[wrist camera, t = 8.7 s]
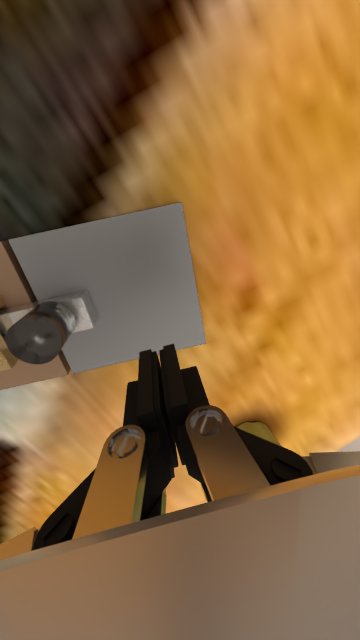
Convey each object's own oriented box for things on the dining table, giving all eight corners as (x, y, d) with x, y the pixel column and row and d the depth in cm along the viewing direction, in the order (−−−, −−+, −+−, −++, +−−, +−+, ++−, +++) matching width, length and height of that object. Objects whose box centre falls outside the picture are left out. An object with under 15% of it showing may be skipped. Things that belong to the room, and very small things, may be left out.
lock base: (203, 336, 27) (206, 343, 26) (-56, 395, 27) (-68, 405, 25) (179, 202, 21) (181, 201, 20) (-155, 275, 21) (-177, 279, 19)
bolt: (99, 321, 23) (83, 354, 18) (-21, 348, 23) (-75, 390, 18) (86, 287, 22) (63, 312, 16) (-43, 315, 22) (-109, 350, 16)
